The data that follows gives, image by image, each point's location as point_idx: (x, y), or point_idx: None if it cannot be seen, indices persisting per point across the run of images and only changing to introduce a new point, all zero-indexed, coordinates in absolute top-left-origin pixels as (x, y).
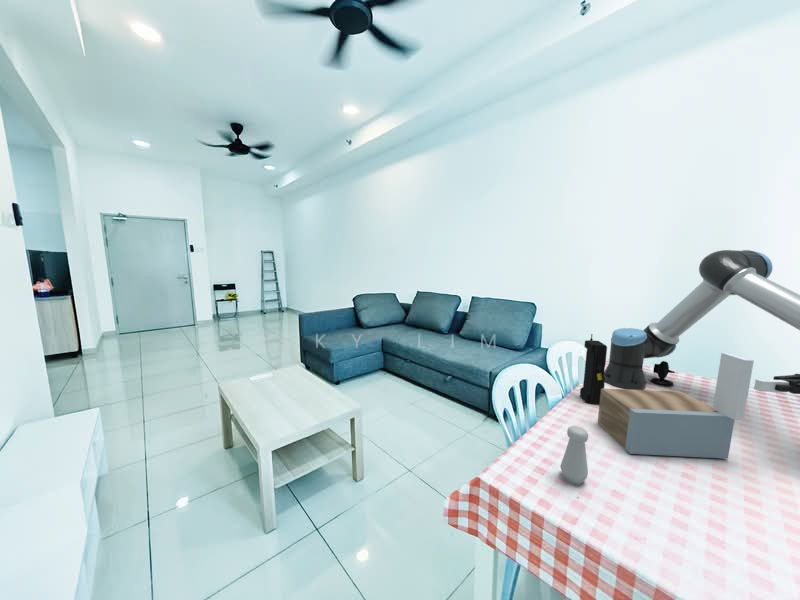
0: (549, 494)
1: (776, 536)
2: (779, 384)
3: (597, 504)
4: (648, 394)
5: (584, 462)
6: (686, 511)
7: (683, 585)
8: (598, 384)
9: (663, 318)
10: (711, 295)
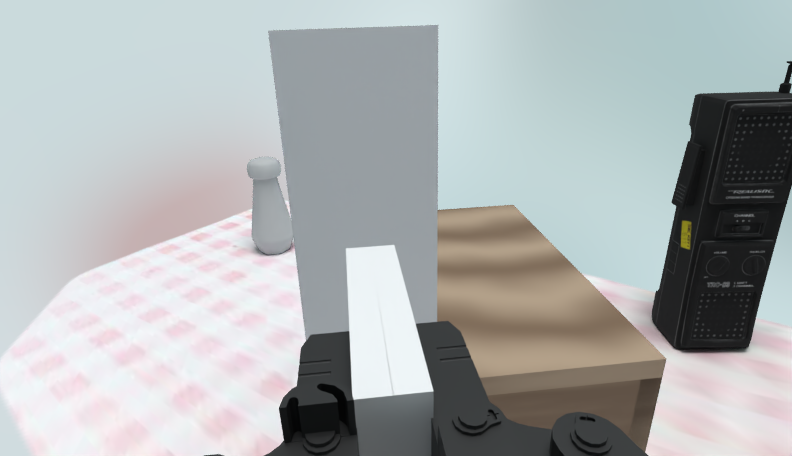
0: (244, 230)
1: (60, 432)
2: (349, 351)
3: (217, 257)
4: (524, 262)
5: (254, 214)
6: (173, 333)
7: (76, 283)
8: (678, 264)
9: None
10: None
